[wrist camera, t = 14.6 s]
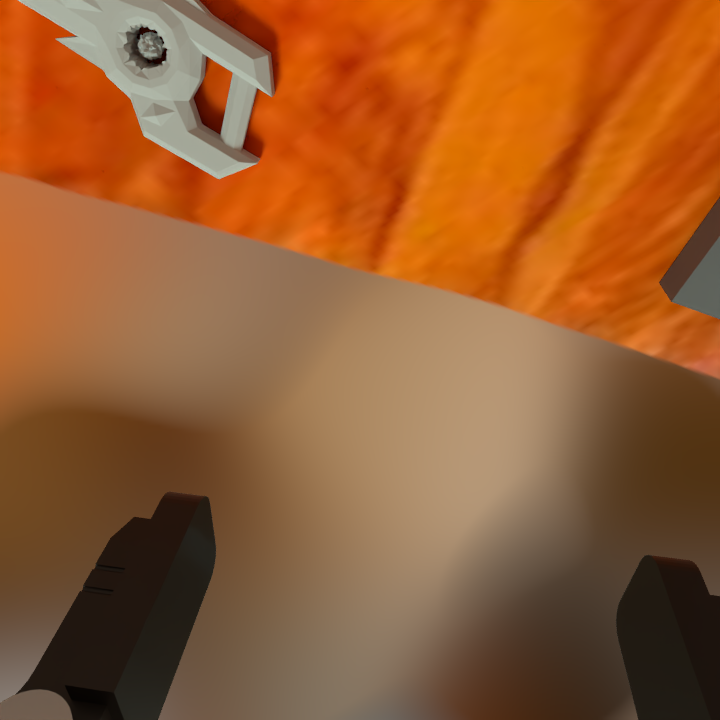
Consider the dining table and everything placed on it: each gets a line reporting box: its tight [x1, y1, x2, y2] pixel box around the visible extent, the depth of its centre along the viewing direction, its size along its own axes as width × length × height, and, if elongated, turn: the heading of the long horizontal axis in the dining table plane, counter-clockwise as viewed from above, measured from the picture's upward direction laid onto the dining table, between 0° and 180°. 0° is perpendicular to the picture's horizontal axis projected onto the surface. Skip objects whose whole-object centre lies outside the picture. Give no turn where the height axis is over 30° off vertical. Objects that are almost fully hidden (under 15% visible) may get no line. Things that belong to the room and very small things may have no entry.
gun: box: [18, 0, 275, 179], centre depth 40 cm, size 18×3×10 cm
